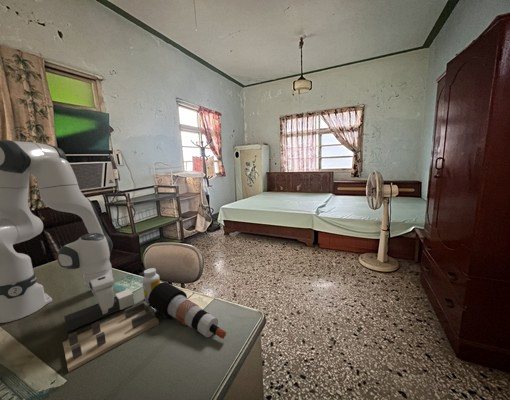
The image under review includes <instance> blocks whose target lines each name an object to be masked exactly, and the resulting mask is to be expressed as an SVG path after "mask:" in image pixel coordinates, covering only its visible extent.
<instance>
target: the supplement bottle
mask: <svg viewBox="0 0 510 400" xmlns="http://www.w3.org/2000/svg"><path fill="white" fill-rule="evenodd" d="M143 275H144V277H142V280H141V281H142V288H143V296H144V301H146V302H147V303H149V302H148V298H149V295H150V293H151V291H152V290H153V288H154V287H155V286H157V285H158V284H160V283H161V280H160V279H161V277H160V275H159V273H157V269H156V268H155V267H150V268H148V269H144V271H143Z"/></svg>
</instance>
